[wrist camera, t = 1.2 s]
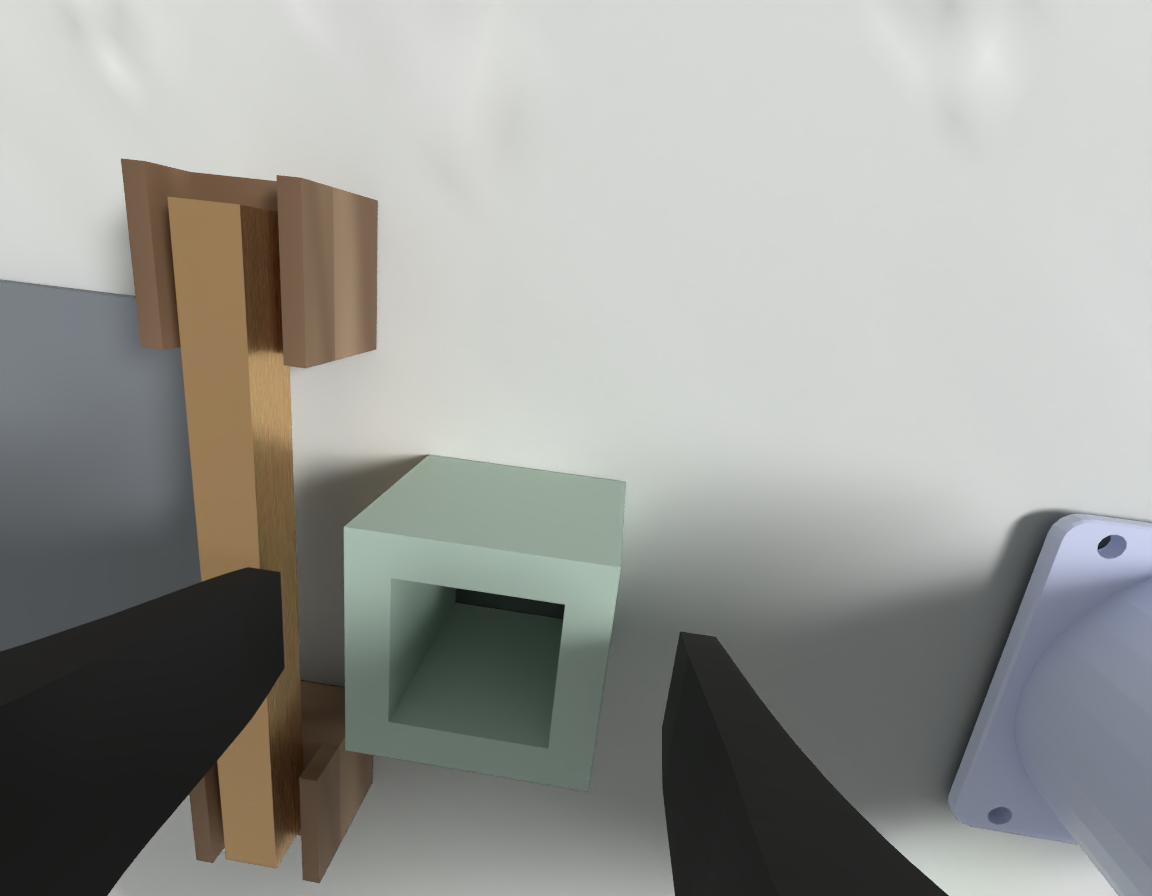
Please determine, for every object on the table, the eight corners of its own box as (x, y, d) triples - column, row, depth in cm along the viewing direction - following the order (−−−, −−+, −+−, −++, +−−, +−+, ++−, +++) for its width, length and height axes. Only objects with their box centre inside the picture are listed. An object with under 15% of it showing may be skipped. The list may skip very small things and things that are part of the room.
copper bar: (284, 213, 10) (239, 205, 9) (305, 820, 14) (276, 868, 13) (219, 205, 10) (167, 196, 9) (258, 812, 14) (225, 859, 13)
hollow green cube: (625, 481, 13) (621, 567, 9) (600, 653, 14) (588, 792, 10) (428, 455, 13) (344, 526, 9) (422, 625, 14) (345, 750, 11)
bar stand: (377, 200, 12) (301, 177, 9) (372, 782, 16) (319, 883, 13) (236, 185, 12) (120, 159, 9) (268, 764, 16) (196, 859, 14)
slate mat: (221, 306, 13) (208, 307, 12) (247, 687, 16) (237, 697, 15) (-72, 270, 13) (-93, 270, 13) (6, 646, 16) (-10, 655, 16)
